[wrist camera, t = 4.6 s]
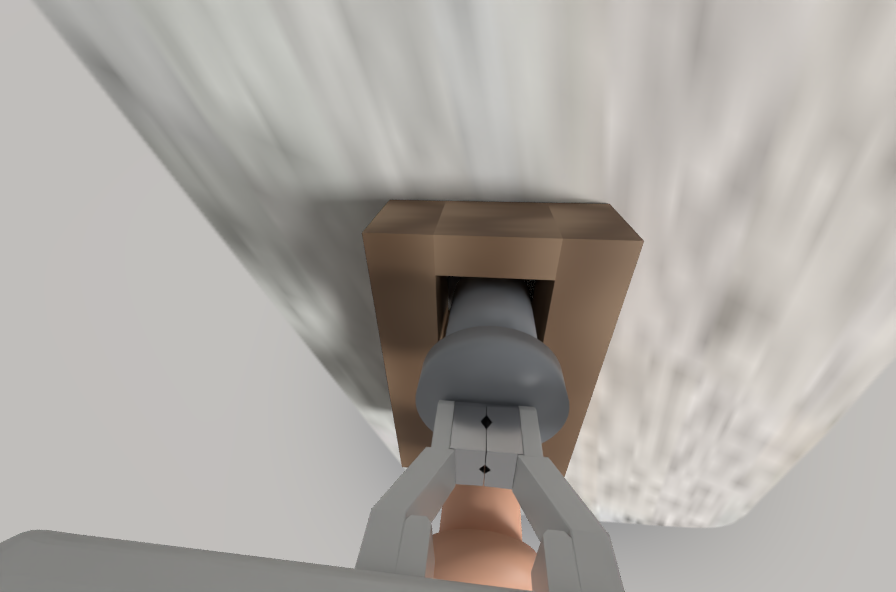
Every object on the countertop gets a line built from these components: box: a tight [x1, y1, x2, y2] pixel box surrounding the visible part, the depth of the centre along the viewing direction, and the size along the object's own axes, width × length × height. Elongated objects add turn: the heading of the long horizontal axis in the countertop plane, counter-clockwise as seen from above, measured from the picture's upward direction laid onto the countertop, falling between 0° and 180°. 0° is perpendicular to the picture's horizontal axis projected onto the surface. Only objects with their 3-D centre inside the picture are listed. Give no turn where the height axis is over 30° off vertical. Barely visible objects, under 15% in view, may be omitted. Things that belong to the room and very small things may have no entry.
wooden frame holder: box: [362, 200, 644, 477], centre depth 18 cm, size 10×16×4 cm, turn 1°
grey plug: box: [416, 276, 569, 443], centre depth 13 cm, size 5×5×6 cm
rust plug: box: [432, 481, 537, 591], centre depth 15 cm, size 5×5×6 cm
